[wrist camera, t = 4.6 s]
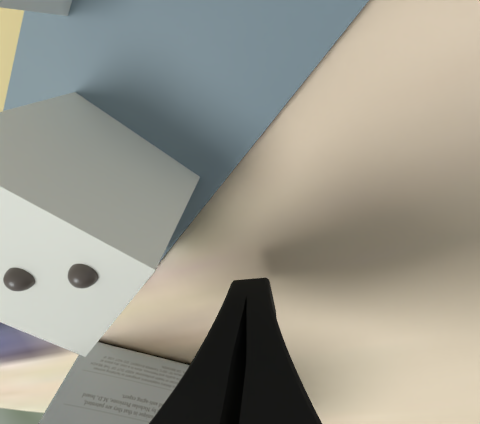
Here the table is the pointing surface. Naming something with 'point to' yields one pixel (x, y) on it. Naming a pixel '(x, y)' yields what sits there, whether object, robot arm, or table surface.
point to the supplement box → (114, 388)
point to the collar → (39, 6)
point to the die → (80, 218)
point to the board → (174, 70)
